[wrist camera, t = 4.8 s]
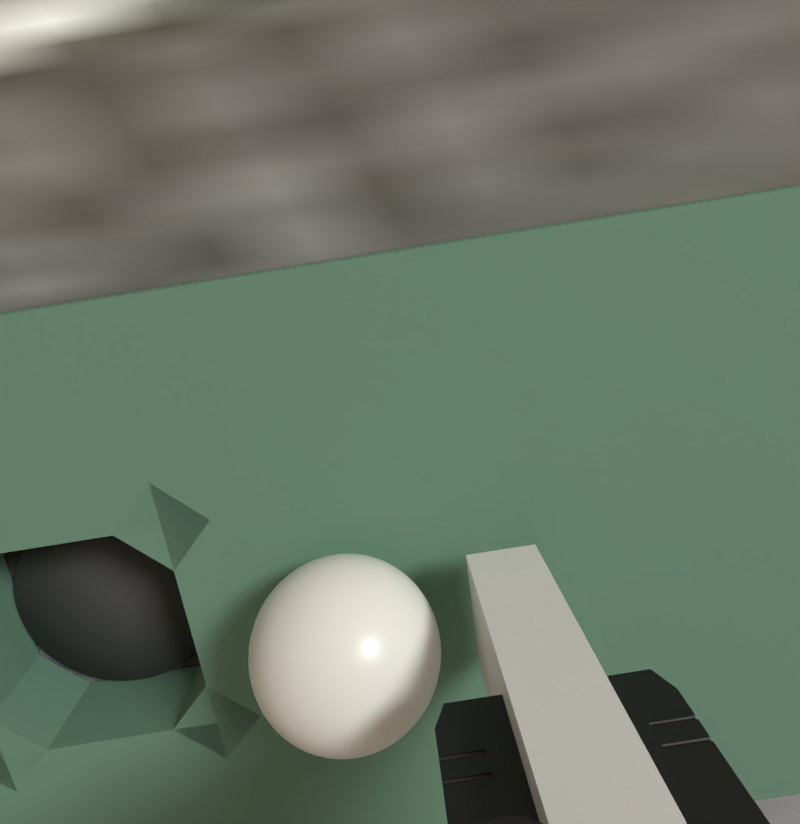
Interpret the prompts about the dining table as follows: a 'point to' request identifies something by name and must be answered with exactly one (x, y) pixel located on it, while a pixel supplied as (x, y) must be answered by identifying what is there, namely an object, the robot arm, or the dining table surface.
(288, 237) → the dining table surface
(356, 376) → the putting mat
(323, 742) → the golf ball
